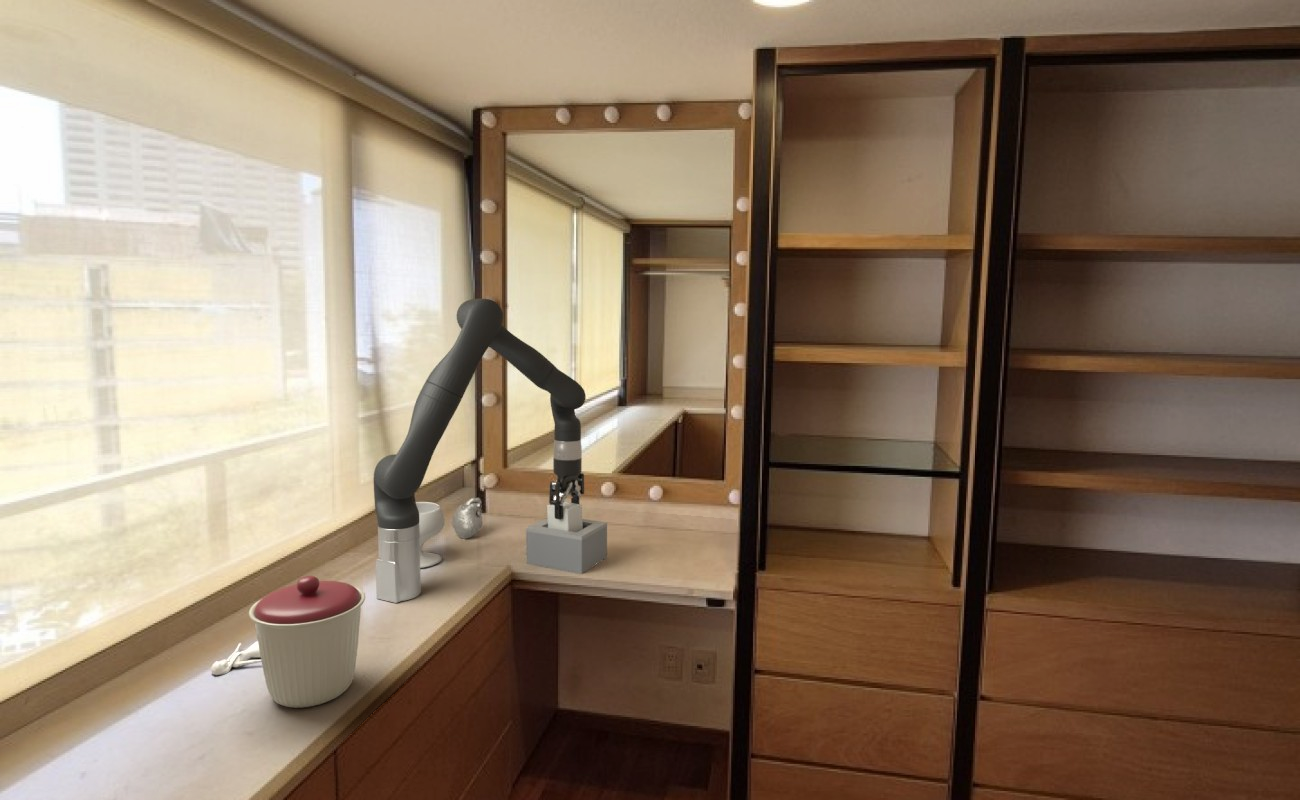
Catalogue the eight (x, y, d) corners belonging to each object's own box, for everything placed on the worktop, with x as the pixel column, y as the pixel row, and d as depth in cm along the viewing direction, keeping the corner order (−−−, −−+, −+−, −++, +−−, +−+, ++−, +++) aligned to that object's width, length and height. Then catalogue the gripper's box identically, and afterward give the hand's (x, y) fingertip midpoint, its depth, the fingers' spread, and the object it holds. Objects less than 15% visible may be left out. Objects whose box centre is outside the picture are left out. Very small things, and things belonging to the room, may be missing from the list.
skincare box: (584, 558, 192) (584, 504, 190) (568, 563, 187) (568, 509, 186) (562, 551, 197) (562, 499, 196) (546, 556, 193) (546, 503, 191)
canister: (314, 730, 113) (308, 604, 110) (228, 709, 119) (221, 588, 116) (389, 676, 130) (386, 566, 127) (311, 660, 136) (307, 554, 133)
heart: (450, 530, 217) (449, 494, 214) (481, 527, 220) (481, 492, 216) (451, 545, 208) (450, 508, 204) (484, 543, 211) (484, 506, 207)
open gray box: (581, 574, 183) (581, 536, 182) (526, 563, 190) (526, 527, 189) (606, 557, 196) (607, 522, 195) (554, 548, 203) (554, 514, 202)
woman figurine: (319, 624, 141) (228, 668, 126) (321, 645, 142) (231, 691, 127) (283, 612, 147) (192, 652, 132) (285, 632, 148) (195, 674, 132)
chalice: (379, 567, 185) (377, 512, 183) (410, 551, 198) (409, 498, 197) (426, 573, 181) (424, 517, 180) (455, 556, 195) (454, 503, 193)
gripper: (565, 462, 181) (565, 523, 183) (592, 453, 194) (592, 510, 196) (541, 459, 185) (540, 519, 186) (569, 450, 197) (568, 507, 199)
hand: (567, 515), depth 191 cm, fingers open, 8 cm apart
